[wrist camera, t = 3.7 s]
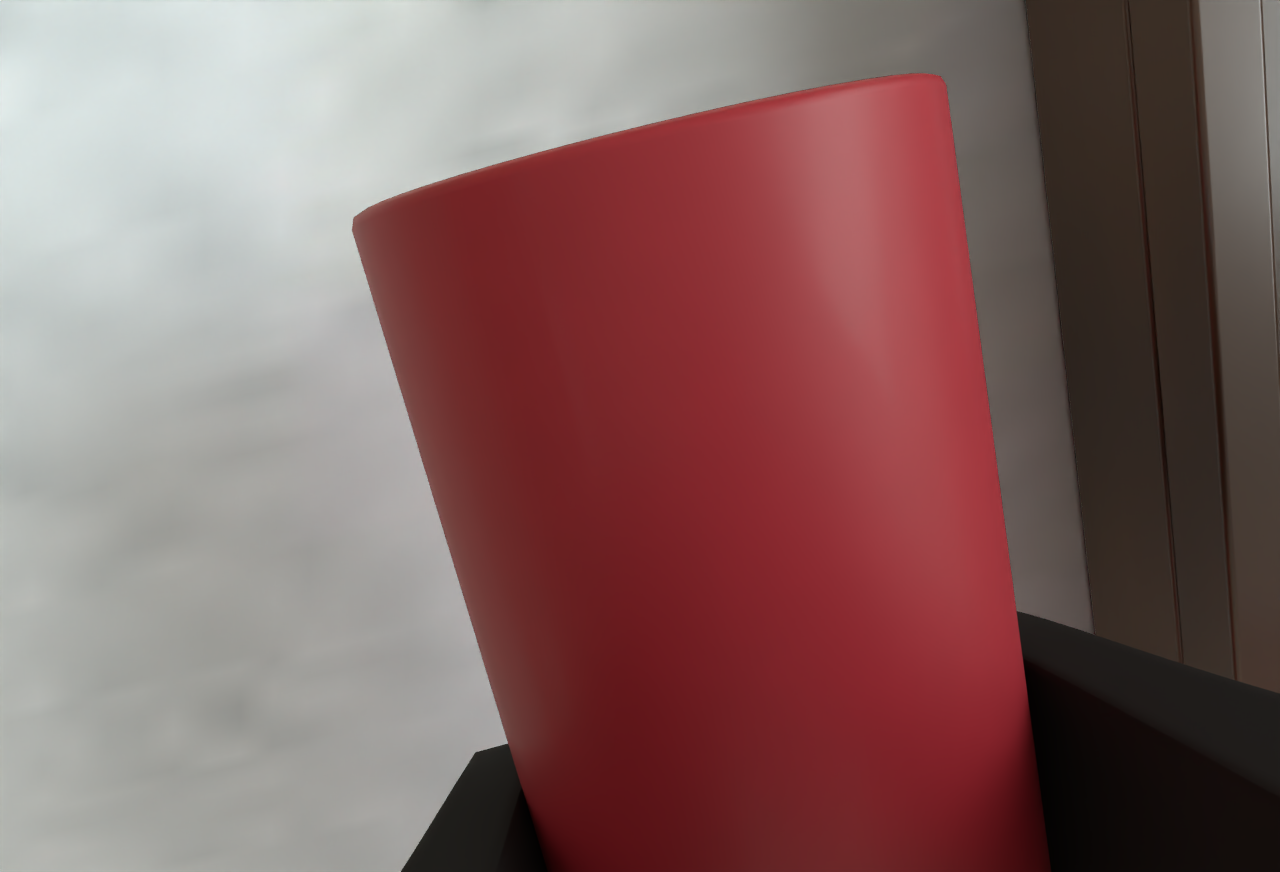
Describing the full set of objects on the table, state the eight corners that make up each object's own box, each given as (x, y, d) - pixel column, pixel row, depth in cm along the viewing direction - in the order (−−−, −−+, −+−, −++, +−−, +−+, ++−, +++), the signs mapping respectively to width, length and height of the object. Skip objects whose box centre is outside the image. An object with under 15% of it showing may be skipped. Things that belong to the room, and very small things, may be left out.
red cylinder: (797, 1026, 13) (1147, 1184, 10) (610, 1370, 9) (1056, 1751, 7) (601, 179, 10) (1020, 63, 7) (229, 248, 6) (741, 78, 4)
